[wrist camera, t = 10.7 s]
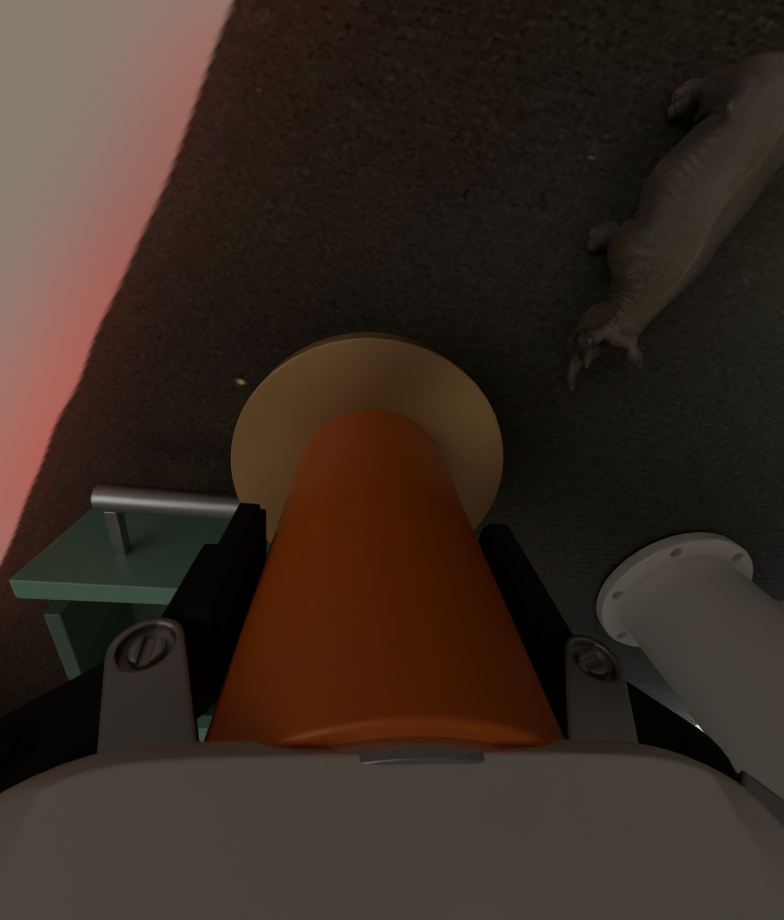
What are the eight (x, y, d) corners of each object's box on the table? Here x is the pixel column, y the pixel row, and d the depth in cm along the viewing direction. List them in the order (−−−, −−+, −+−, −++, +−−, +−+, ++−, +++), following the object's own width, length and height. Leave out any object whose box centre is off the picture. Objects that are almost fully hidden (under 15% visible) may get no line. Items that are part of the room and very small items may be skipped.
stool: (487, 335, 20) (541, 361, 14) (441, 509, 26) (466, 584, 19) (268, 300, 19) (222, 313, 13) (268, 494, 24) (235, 570, 18)
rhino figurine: (511, 361, 21) (562, 390, 16) (674, 64, 16) (834, -44, 10) (568, 386, 22) (633, 421, 17) (739, 115, 17) (916, 40, 11)
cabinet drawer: (80, 443, 21) (-25, 505, 15) (317, 467, 22) (303, 530, 17) (130, 641, 28) (73, 732, 23) (304, 647, 30) (291, 733, 24)
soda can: (457, 419, 15) (673, 745, 5) (427, 539, 18) (518, 911, 7) (301, 399, 14) (130, 747, 4) (295, 529, 17) (189, 934, 7)
